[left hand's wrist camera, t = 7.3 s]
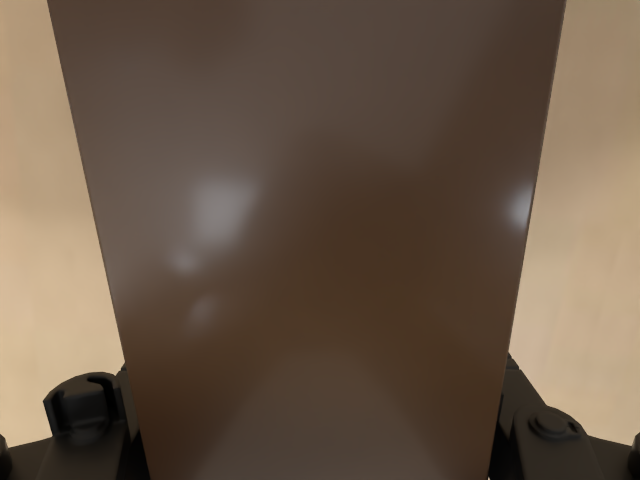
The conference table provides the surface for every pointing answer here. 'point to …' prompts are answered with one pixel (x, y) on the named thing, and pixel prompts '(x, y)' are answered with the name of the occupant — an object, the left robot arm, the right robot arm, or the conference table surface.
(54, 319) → the conference table surface
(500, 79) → the post
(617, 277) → the conference table surface
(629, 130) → the conference table surface
